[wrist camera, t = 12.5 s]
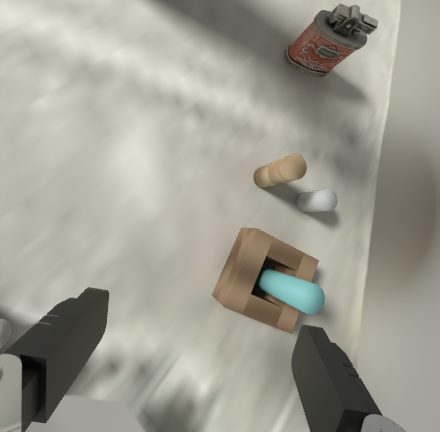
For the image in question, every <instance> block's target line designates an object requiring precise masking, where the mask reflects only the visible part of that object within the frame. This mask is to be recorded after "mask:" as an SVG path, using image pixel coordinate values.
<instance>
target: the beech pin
mask: <svg viewBox="0 0 440 432" xmlns="http://www.w3.org/2000/svg"><path fill="white" fill-rule="evenodd" d="M306 169H307V166H306V162H305V160H304V158H303V157H302V156H300V155H299V154H291V155H288V156H286V157H284V158H282V159H279V160H277V161H275V162H272V163H270V164H268V165H265V166H263V167H261V168H259V169H257V170H256V171H255V173H254V182H255V184H256V185H257V186H258V187H260V188H267V187H271V186H275V185H278V184H282V183H286V182H290V181H294V180H297V179H300V178H302V177H303V176H304V175H305V173H306Z"/></svg>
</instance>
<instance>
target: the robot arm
mask: <svg viewBox="0 0 440 432" xmlns="http://www.w3.org/2000/svg"><path fill="white" fill-rule="evenodd" d="M108 301H109V292H108V290H102V289H96V288H90V287H89V288H87V289H86V290H85V291H84V292H83V293H82V294H81V295H80V296H79V297H78V298H77V299H76V298H69V299H67V300H65V301H63V302H61V303H59V304H57V305H56V306H55V307H54V308H53V309H52V310H51V311H49V312H48V313H47V315H46V316H44V317H43V318H42V319H41V320H40V321H39V322H38V324H37V323H36V324H35V325H34V326H33V327H32V328H31V329H30V330H29V331H27V332H26V333H25V334H24V335H23V336H22V337H21V338H20V339H19V340H18V341H16V342H15V343H14V344H13V345H12V346H11V347H10V348H9V349H8V350H7V351H5V352H4V353H3V354H0V432H25V431H26V429H27V428H28V426H29V425H30V424H31V422H32V421H34V422H40V423H46V422H47V420H48V419H49V418H50V416H51V415H52V413H53V412H54V410H55V408H56V407H57V405H58V404H59V402H60V401H61V400H62V398H63V397H64V395H65V393H66V392H67V390H68V389H69V387H70V386H71V384H72V383H73V381H74V380H75V378H76V377H77V375H78V374H79V372H80V371H81V369H82V368H83V366H84V365H85V363H86V362H87V360H88V359H89V357H90V356H91V354H92V353H93V351H94V350H95V348H96V347H97V345H98V344H99V342H100V340H101V339H102V337H103V335H104V332H105V329H106V324H107V313H108ZM292 372H293V376H294V379H295V382H296V386H297V389H298V392H299V395H300V399H301V402H302V405H303V409H304V412H305V415H306V419H307V422H308V425H309V428H310V432H406V431H405V430H404V429H403V428H401V427H400V426H399V425H398V424H396V423H395V422H394V421H392V420H390V419H388V418H386V417H384V416H383V415H382V414H381V412H380V411H379V409H378V407H377V405H376V404H375V402H374V400H373V399H372V397H371V395H370V393H369V392H368V390H367V389H366V387H365V385H364V384H363V382H362V380H361V379H360V378H359V375H358V373H357V372H356V370H355V368H353V365H352V363H351V362H350V360H349V358H348V356H347V355H346V353H344V352H343V351H342V350H341V349H340V348H339V347H338V346H337V345H336V344H335V343H331V342H330V340H329V338H328V336H327V334H326V333H325V331H324V329H323V328H321V327H315V326H309V325H302V326H301V329H300V332H299V335H298V338H297V342H296V345H295V348H294V352H293V355H292Z"/></svg>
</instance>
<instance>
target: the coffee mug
mask: <svg viewBox="0 0 440 432" xmlns="http://www.w3.org/2000/svg"><path fill="white" fill-rule="evenodd" d="M12 333H13V330H12V324H11V322H10V321H9V320H7V319H0V348H1V347H2V346H4V345H5V344H6V343H7V342H8V341H9V340H10V338H11V336H12Z"/></svg>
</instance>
